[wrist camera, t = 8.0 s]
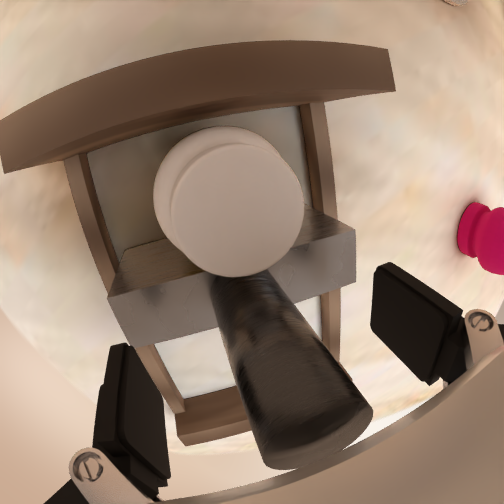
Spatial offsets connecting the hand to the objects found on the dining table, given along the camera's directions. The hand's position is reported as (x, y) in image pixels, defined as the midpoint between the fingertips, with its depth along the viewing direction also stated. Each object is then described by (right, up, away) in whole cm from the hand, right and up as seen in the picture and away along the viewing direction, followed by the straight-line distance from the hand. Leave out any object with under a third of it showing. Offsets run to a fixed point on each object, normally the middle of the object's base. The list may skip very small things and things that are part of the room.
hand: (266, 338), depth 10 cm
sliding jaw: (-3, +3, +9) cm, 10 cm away
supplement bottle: (-3, +8, +7) cm, 11 cm away
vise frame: (-2, +1, +10) cm, 10 cm away
